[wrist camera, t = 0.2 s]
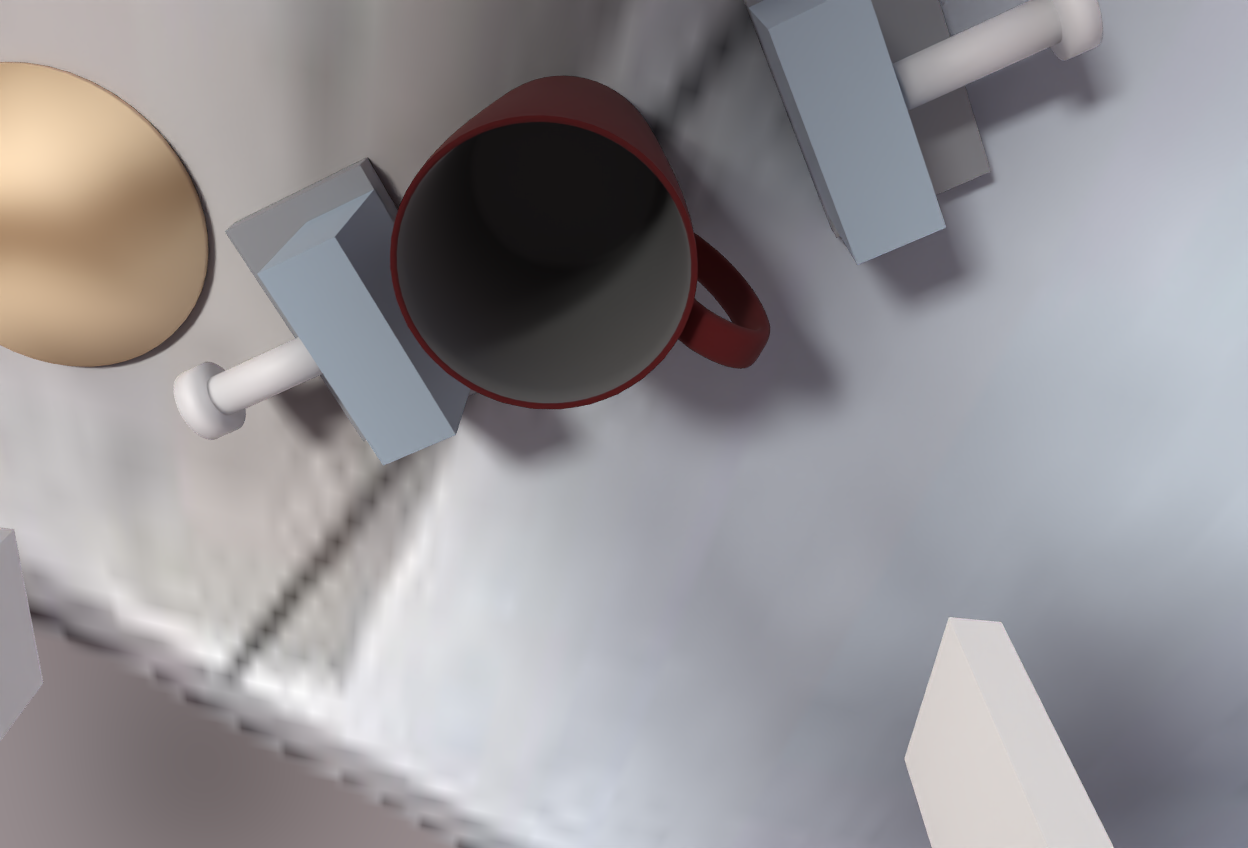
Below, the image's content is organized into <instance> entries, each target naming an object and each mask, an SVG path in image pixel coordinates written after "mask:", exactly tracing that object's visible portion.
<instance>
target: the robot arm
mask: <svg viewBox="0 0 1248 848" xmlns="http://www.w3.org/2000/svg"><path fill="white" fill-rule="evenodd" d="M42 684H43V678H42V673H41V667H40V662H39V657H38V652H37V647H36V641H35V636H34V631H33V626H32V620H31V615H30V610H29V605H28V599H27V594H26V589H25V584H24V579H23V573H22V568H21V563H20V558H19V552H18V547H17V542H16V537H15V531H14V529H8V528H0V741H1V740H2V738H3V737H4V735H5V734H6V733H7V731H8V730H9V729H10V727H11V726H12V725H13V723H14V722H15V721H16V719H17V718H18V717H19V715H20V714H21V713H22V711H23V710H24V709H25V707H26V706H27V704H28V703H29V702H30V700H31V699H32V698H33V696H34V695H35V694H36V692H37V691H38V690H39V688H40V687H41V686H42ZM904 759H905V763H906V766H907V769H908V772H909V776H910V779H911V782H912V785H913V788H914V792H915V795H916V798H917V801H918V805H919V808H920V811H921V814H922V818H923V821H924V824H925V827H926V830H927V834H928V837H929V840H930V843H931V847H932V848H1114V847H1113V845H1112V843H1111V841H1110V839H1109V837H1108V835H1107V833H1106V831H1105V829H1104V827H1103V825H1102V823H1101V821H1100V819H1099V817H1098V815H1097V813H1096V811H1095V809H1094V807H1093V805H1092V803H1091V801H1090V799H1089V797H1088V795H1087V793H1086V791H1085V789H1084V787H1083V785H1082V783H1081V781H1080V779H1079V777H1078V775H1077V773H1076V771H1075V769H1074V767H1073V765H1072V763H1071V761H1070V759H1069V757H1068V755H1067V753H1066V751H1065V749H1064V747H1063V745H1062V743H1061V741H1060V739H1059V737H1058V735H1057V733H1056V731H1055V729H1054V727H1053V725H1052V723H1051V721H1050V718H1049V716H1048V714H1047V712H1046V710H1045V708H1044V706H1043V704H1042V702H1041V700H1040V698H1039V696H1038V694H1037V692H1036V690H1035V688H1034V686H1033V684H1032V682H1031V680H1030V678H1029V676H1028V674H1027V672H1026V670H1025V668H1024V666H1023V664H1022V662H1021V660H1020V658H1019V656H1018V654H1017V652H1016V650H1015V648H1014V646H1013V644H1012V642H1011V640H1010V638H1009V636H1008V634H1007V632H1006V630H1005V628H1004V626H1003V624H1002V622H996V621H985V620H975V619H964V618H954V617H949V618H948V622H947V625H946V628H945V631H944V634H943V638H942V641H941V644H940V647H939V650H938V653H937V657H936V660H935V663H934V666H933V669H932V672H931V676H930V679H929V682H928V685H927V688H926V692H925V695H924V698H923V701H922V704H921V707H920V711H919V714H918V717H917V720H916V723H915V727H914V730H913V733H912V736H911V739H910V742H909V746H908V749H907V752H906V755H905V758H904Z"/></svg>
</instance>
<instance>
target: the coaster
mask: <svg viewBox="0 0 1248 848" xmlns="http://www.w3.org/2000/svg"><path fill="white" fill-rule="evenodd" d="M208 255H209V253H208V233H207V227H206V221H205V216H204V213H203V209H202V206H201V203H200V199H199V196H198V194H197V192H196V189H195V187H194V185H193V183H192V180H191V178H190V176H189V174H188V173H187V171H186V169H185V167H184V166H183V164H182V162H181V161H180V159H179V157H178V156H177V155H176V153H175V152H174V151H173V149H172V148H171V146H170V145H169V144H168V142H167V141H166V140H165V139H164V137H163V136H162V135H161V134H160V133H159V132H158V131H157V130H156V129H155V128H154V127H153V126H152V124H151V123H150V122H149V121H147V120H146V119H145V118H144V117H143V116H142V115H141V114H139V113H138V112H137V111H136V110H135V109H134V108H133V107H131V106H130V105H129V104H127V103H126V102H124V101H123V100H122V99H120V98H119V97H117V96H116V95H114V94H113V93H111V92H110V91H108V90H106V89H104V88H102V87H101V86H99V85H97V84H95V83H93V82H92V81H89V80H87V79H85V78H82V77H80V76H77V75H75V74H73V73H70V72H67V71H63V70H60V69H56V68H53V67H49V66H44V65H38V64H31V63H22V62H0V345H1V346H4V347H6V348H8V349H10V350H12V351H14V352H17V353H19V354H22V355H25V356H28V357H30V358H33V359H37V360H41V361H45V362H49V363H53V364H60V365H67V366H86V367H92V366H102V365H111V364H115V363H119V362H124V361H127V360H130V359H133V358H135V357H138V356H140V355H143V354H145V353H147V352H148V351H150V350H152V349H154V348H155V347H157V346H159V345H160V344H161V343H162V342H164V341H165V340H166V339H167V338H169V337H170V336H171V335H172V334H173V333H174V332H175V331H176V330H177V329H178V328H179V327H180V326H181V325H182V323H183V322H184V321H185V320H186V319H187V317H188V316H189V314H190V313H191V311H192V310H193V308H194V307H195V305H196V302H197V300H198V298H199V296H200V293H201V291H202V288H203V284H204V281H205V277H206V273H207V264H208Z"/></svg>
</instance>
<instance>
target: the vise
mask: <svg viewBox="0 0 1248 848" xmlns="http://www.w3.org/2000/svg"><path fill="white" fill-rule="evenodd" d="M744 2H745V5H746V8H747V10H748V13H749V15H750V18H751V21H752V23H753V26H754V28H755V31H756V34H757V36H758V39H759V41H760V44H761V47H762V49H763V52H764V55H765V57H766V60H767V62H768V65H769V68H770V70H771V73H772V75H773V78H774V81H775V83H776V86H777V88H778V91H779V94H780V96H781V99H782V101H783V104H784V107H785V109H786V112H787V114H788V117H789V120H790V122H791V125H792V127H793V130H794V133H795V135H796V138H797V141H798V143H799V146H800V148H801V151H802V154H803V156H804V159H805V161H806V164H807V167H808V169H809V172H810V174H811V177H812V180H813V182H814V185H815V187H816V190H817V193H818V195H819V198H820V200H821V203H822V206H823V208H824V211H825V213H826V216H827V219H828V221H829V224H830V227H831V229H832V231H833V232H834V234H835V236H836V238H838V237H840V236H841V238H842V240H843V242H844V243H845V245H846V247H847V248H848V250H849V252H850V253H851V255H852V257H853V259H854V260H855V262H856V264H857V265H859V264H861V263H864V262H866V261H868V260H871V259H873V258H876V257H878V256H880V255H883V254H885V253H887V252H890V251H892V250H894V249H897V248H899V247H902V246H904V245H906V244H909V243H911V242H913V241H916V240H918V239H920V238H923V237H925V236H928V235H930V234H932V233H935V232H937V231H939V230H942V229H944V228H946V225H945V222H944V219H943V216H942V213H941V210H940V207H939V204H938V201H937V198H936V195H938V194H940V193H942V192H945V191H947V190H949V189H952V188H954V187H956V186H959V185H961V184H963V183H966V182H968V181H970V180H972V179H975V178H977V177H979V176H982V175H984V174H986V173H989V172H991V170H990V167H989V163H988V160H987V157H986V154H985V150H984V147H983V144H982V140H981V137H980V134H979V130H978V127H977V124H976V121H975V117H974V114H973V111H972V107H971V104H970V101H969V97H968V94H967V91H966V88H965V85H967V84H969V83H971V82H974V81H976V80H978V79H980V78H982V77H985V76H987V75H989V74H991V73H994V72H996V71H998V70H1000V69H1002V68H1005V67H1007V66H1009V65H1011V64H1014V63H1016V62H1018V61H1020V60H1023V59H1025V58H1027V57H1029V56H1031V55H1034V54H1036V53H1038V52H1040V51H1043V50H1045V49H1047V48H1049V47H1050V48H1051V50H1052V51H1053V53H1054V54H1055V55H1056V56H1057V57H1058V58H1059V59H1060V60H1062V61H1066V60H1069V59H1071V58H1073V57H1075V56H1078V55H1080V54H1082V53H1084V52H1087V51H1089V50H1091V49H1093V48H1096V47H1098V46H1099V45H1100V43H1101V41H1102V36H1103V25H1102V17H1101V12H1100V8H1099V4H1098V1H1097V0H1030V1H1028V2H1026V3H1023V4H1021V5H1019V6H1017V7H1015V8H1013V9H1010V10H1008V11H1006V12H1004V13H1002V14H999V15H997V16H995V17H993V18H991V19H989V20H986V21H984V22H982V23H980V24H978V25H976V26H973V27H971V28H969V29H967V30H965V31H963V32H960V33H958V34H956V35H954V36H952V37H950V35H949V32H948V28H947V25H946V22H945V18H944V15H943V12H942V8H941V5H940V2H939V0H744ZM397 212H398V210H397V208H396V207H395V205H394V203H393V201H392V200H391V198H390V196H389V194H388V193H387V191H386V189H385V187H384V186H383V184H382V182H381V181H380V179H379V177H378V175H377V174H376V172H375V170H374V168H373V167H372V165H371V163H370V161H369V160H368V158H365V159H363V160H361V161H359V162H357V163H355V164H353V165H351V166H349V167H347V168H345V169H343V170H341V171H339V172H337V173H335V174H333V175H331V176H328V177H326V178H324V179H322V180H320V181H318V182H316V183H314V184H312V185H310V186H308V187H306V188H304V189H302V190H300V191H298V192H296V193H294V194H292V195H290V196H288V197H286V198H284V199H282V200H280V201H278V202H276V203H274V204H272V205H270V206H268V207H266V208H264V209H262V210H260V211H258V212H255V213H253V214H251V215H249V216H247V217H245V218H243V219H241V220H239V221H237V222H235V223H234V224H233V225H232V226H231V227H230V228H228V229H227V230H226V231H225V232H226V234H227V236H228V237H229V239H230V240H231V242H232V243H233V245H234V246H235V248H236V249H237V251H238V252H239V254H240V255H241V257H242V258H243V260H244V261H245V263H246V264H247V266H248V267H249V269H250V270H251V272H252V273H253V275H254V276H255V278H256V279H257V281H258V282H259V284H260V285H261V287H262V289H263V290H264V292H265V293H266V295H267V296H268V298H269V299H270V301H271V302H272V304H273V305H274V307H275V308H276V310H277V311H278V313H279V314H280V316H281V317H282V319H283V320H284V322H285V323H286V325H287V326H288V328H289V329H290V331H291V332H292V334H293V335H294V337H295V339H293V340H291V341H289V342H286V343H284V344H282V345H280V346H278V347H276V348H273V349H271V350H269V351H267V352H265V353H262V354H260V355H258V356H256V357H254V358H252V359H249V360H247V361H245V362H243V363H241V364H239V365H236V366H234V367H232V368H230V369H228V370H226V371H225V370H224V369H223V368H222V367H220V366H219V365H217V364H215V363H212V362H205V363H202V364H200V365H198V366H196V367H193V368H191V369H189V370H187V371H185V372H183V373H181V374H179V375H178V376H177V378H176V380H175V382H174V397H175V402H176V405H177V407H178V410H179V412H180V414H181V416H182V417H183V419H184V421H185V422H186V423H187V425H188V426H189V427H190V428H191V429H192V430H193V431H194V432H195V433H196V434H198V435H199V436H201V437H203V438H205V439H209V440H214V439H217V438H219V437H222V436H224V435H226V434H228V433H231V432H233V431H235V430H237V429H239V428H241V427H242V426H243V424H244V421H245V417H246V409H245V408H248V407H250V406H252V405H254V404H257V403H259V402H261V401H263V400H265V399H268V398H270V397H272V396H274V395H277V394H279V393H281V392H283V391H285V390H288V389H290V388H292V387H294V386H297V385H299V384H301V383H303V382H305V381H308V380H310V379H312V378H314V377H317V376H319V375H320V376H321V378H322V379H323V381H324V382H325V384H326V385H327V387H328V388H329V390H330V391H331V393H332V394H333V396H334V398H335V399H336V401H337V402H338V404H339V405H340V407H341V408H342V410H343V411H344V413H345V414H346V416H347V417H348V419H349V420H350V422H351V423H352V425H353V426H354V428H355V429H356V431H357V432H358V434H359V435H360V437H361V438H362V440H363V441H365V440H367V441H368V443H369V445H370V446H371V448H372V449H373V451H374V452H375V454H376V455H377V457H378V458H379V460H380V461H381V463H382V464H383V465H385V464H388V463H390V462H393V461H395V460H397V459H400V458H402V457H404V456H407V455H409V454H412V453H414V452H416V451H419V450H421V449H423V448H426V447H428V446H430V445H433V444H435V443H438V442H440V441H442V440H445V439H447V438H449V437H452V436H454V435H456V433H457V430H458V426H459V423H460V420H461V417H462V414H463V411H464V407H465V404H466V401H467V398H468V396H470V395H472V394H475V393H477V392H476V391H473V390H471V389H470V388H468V387H467V386H465V385H463V384H462V383H460V382H459V381H457V380H456V379H454V378H453V377H452V376H450V375H449V374H447V373H446V372H445V371H444V370H443V369H442V368H441V367H440V366H439V365H438V364H436V363H435V362H434V360H433V359H432V358H431V357H430V356H429V355H428V354H427V353H426V352H425V351H424V350H423V348H422V347H421V345H420V344H419V343H418V341H417V340H416V339H415V337H414V335H413V334H412V332H411V331H410V329H409V328H408V326H407V324H406V322H405V319H404V317H403V315H402V313H401V310H400V308H399V305H398V302H397V300H396V296H395V292H394V288H393V283H392V277H391V270H390V246H391V235H392V231H393V226H394V221H395V218H396V215H397Z"/></svg>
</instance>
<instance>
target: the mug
mask: <svg viewBox="0 0 1248 848" xmlns="http://www.w3.org/2000/svg"><path fill="white" fill-rule="evenodd" d="M390 270H391V277H392V283H393V288H394V292H395V296H396V300H397V302H398V305H399V308H400V310H401V313H402V315H403V317H404V319H405V322H406V324H407V326H408V328H409V329H410V331H411V332H412V334H413V335H414V337H415V339H416V340H417V341H418V343H419V344H420V345H421V347H422V348H423V350H424V351H425V352H426V353H427V354H428V355H429V356H430V357H431V358H432V359H433V360H434V362H435V363H436V364H438V365H439V366H440V367H441V368H442V369H443V370H444V371H445V372H446V373H447V374H449V375H450V376H452V377H453V378H454V379H456V380H457V381H459V382H460V383H462V384H463V385H465V386H467V387H468V388H470V389H471V390H473V391H476V392H478V393H480V394H482V395H484V396H487V397H489V398H492V399H494V400H497V401H499V402H503V403H507V404H511V405H515V406H520V407H526V408H533V409H565V408H573V407H579V406H584V405H589V404H592V403H595V402H598V401H601V400H604V399H607V398H609V397H612V396H614V395H617V394H619V393H620V392H622V391H624V390H626V389H627V388H629V387H631V386H632V385H634V384H635V383H637V382H638V381H640V380H642V379H643V378H644V377H645V376H646V375H647V374H649V373H650V372H651V371H652V370H653V369H654V368H655V367H656V366H657V365H658V364H659V363H660V362H661V361H662V360H663V359H664V358H665V357H666V355H667V354H668V353H669V351H670V350H671V349H672V347H673V346H674V344H675V343H676V341H677V340H678V339H679V340H680V341H681V342H682V343H683V344H685V345H686V346H687V347H689V348H690V349H691V350H693V351H695V352H696V353H698V354H700V355H702V356H703V357H705V358H707V359H709V360H711V361H714V362H716V363H718V364H721V365H724V366H727V367H731V368H740V369H742V368H747V367H749V366H751V365H752V364H753V363H754V362H755V361H756V359H757V358H758V357H759V355H760V353H761V352H762V350H763V348H764V347H765V345H766V343H767V341H768V338H769V335H770V324H769V320H768V318H767V315H766V312H765V310H764V308H763V306H762V304H761V302H760V301H759V299H758V297H757V296H756V294H755V292H754V291H753V289H752V288H751V287H750V285H749V284H748V283H747V281H746V280H745V279H744V278H743V276H742V275H741V274H740V273H739V272H738V271H737V270H736V269H735V267H734V266H733V265H732V264H731V263H730V262H729V261H728V260H727V259H726V258H725V257H724V256H722V255H721V254H720V253H719V252H718V251H717V250H716V249H715V248H713V247H712V246H711V245H710V244H709V243H707V242H706V241H705V240H704V239H702V238H701V237H700V236H698V235H697V234H695V233H694V232H693V227H692V222H691V218H690V215H689V212H688V209H687V206H686V203H685V200H684V197H683V194H682V192H681V189H680V187H679V184H678V182H677V180H676V178H675V175H674V173H673V171H672V169H671V167H670V165H669V163H668V161H667V159H666V156H665V155H664V153H663V151H662V149H661V147H660V145H659V143H658V141H657V139H656V137H655V136H654V134H653V132H652V130H651V129H650V127H649V125H648V123H647V122H646V121H645V119H644V118H643V117H642V115H641V114H640V112H639V111H638V110H637V109H636V108H635V107H634V106H633V105H632V104H631V103H630V102H629V101H628V100H627V99H625V98H624V97H623V96H622V95H620V94H619V93H617V92H616V91H614V90H612V89H611V88H609V87H607V86H605V85H603V84H600V83H598V82H595V81H592V80H589V79H585V78H580V77H574V76H551V77H544V78H540V79H536V80H533V81H530V82H527V83H525V84H523V85H521V86H519V87H517V88H515V89H513V90H511V91H510V92H508V93H507V94H505V95H504V96H502V97H501V98H499V99H498V100H496V101H495V102H493V103H492V104H491V105H489V106H488V107H487V108H485V109H484V110H482V111H481V112H480V113H478V114H477V115H476V116H474V117H473V118H472V119H471V120H469V121H468V122H467V123H466V124H464V125H463V126H462V127H461V128H460V129H458V130H457V131H456V132H455V133H454V134H452V135H451V136H450V137H449V138H448V139H447V140H446V141H445V142H444V143H443V144H442V145H441V146H440V147H439V148H438V149H437V150H436V151H435V153H434V154H433V155H432V156H431V157H430V158H429V159H428V160H427V162H426V163H425V164H424V166H423V167H422V168H421V169H420V171H419V172H418V173H417V175H416V176H415V178H414V179H413V181H412V183H411V184H410V186H409V188H408V189H407V191H406V193H405V195H404V197H403V199H402V202H401V204H400V206H399V209H398V212H397V215H396V218H395V221H394V226H393V231H392V235H391V246H390ZM697 280H698V281H699V282H700V283H701V284H702V285H703V286H704V287H705V288H706V289H707V290H708V291H709V292H710V293H711V294H712V295H713V297H714V298H715V299H716V300H717V301H718V302H719V304H720V305H721V306H722V308H723V309H724V310H725V312H726V313H727V315H728V316H729V317H730V319H731V321H732V322H733V323H731V322H729V321H727V320H725V319H723V318H722V317H720V316H718V315H716V314H714V313H713V312H711V311H710V310H708V309H707V308H705V307H704V306H703V305H702V304H700V303H699V302H698V301H697V300H696V299H695V298H694V297H695V292H696V285H697Z"/></svg>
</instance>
